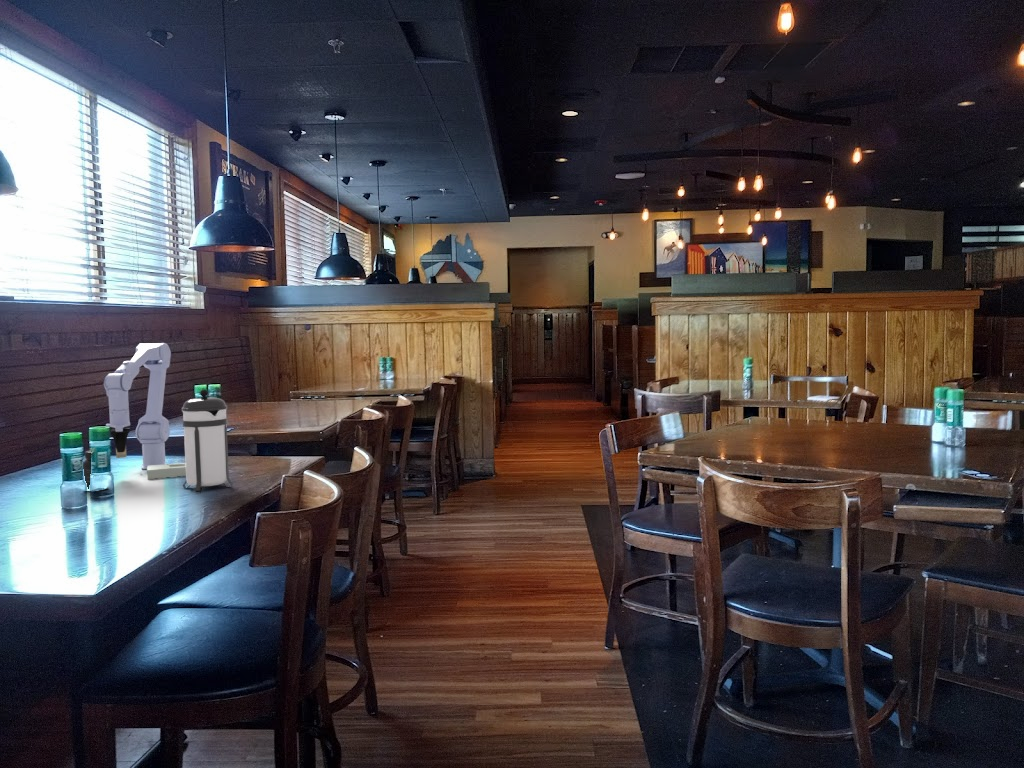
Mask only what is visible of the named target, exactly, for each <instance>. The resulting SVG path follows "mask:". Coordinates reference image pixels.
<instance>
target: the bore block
mask: <svg viewBox="0 0 1024 768" xmlns="http://www.w3.org/2000/svg"><path fill="white" fill-rule="evenodd" d="M146 470H147V480H155V478H158V479H167V478H166V477H170V478H178V477H177V476H181V477H186V464H185V462H177V463H167V464H162V465H149V466H147V469H146Z"/></svg>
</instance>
